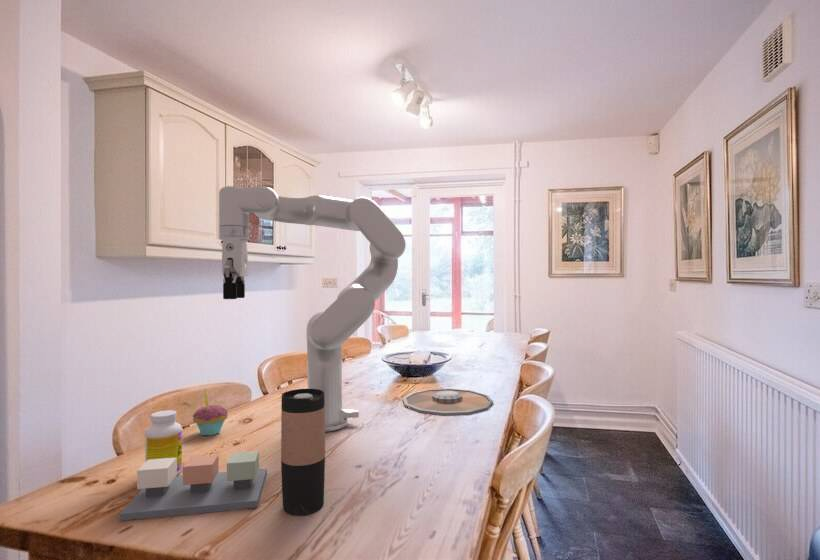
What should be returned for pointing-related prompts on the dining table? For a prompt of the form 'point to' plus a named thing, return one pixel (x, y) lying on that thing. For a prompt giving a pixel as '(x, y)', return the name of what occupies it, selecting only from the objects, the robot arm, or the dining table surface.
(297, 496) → the travel mug
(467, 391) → the shield
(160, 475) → the button cream
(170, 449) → the supplement bottle
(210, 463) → the button terracotta
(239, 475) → the button sage
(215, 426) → the cupcake
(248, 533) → the dining table surface
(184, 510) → the board
